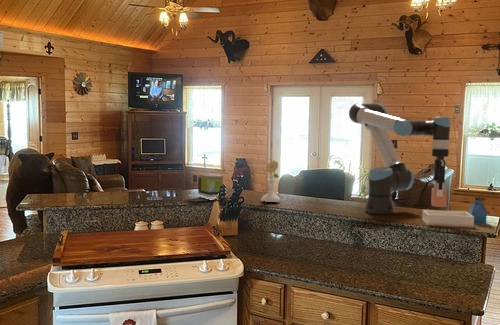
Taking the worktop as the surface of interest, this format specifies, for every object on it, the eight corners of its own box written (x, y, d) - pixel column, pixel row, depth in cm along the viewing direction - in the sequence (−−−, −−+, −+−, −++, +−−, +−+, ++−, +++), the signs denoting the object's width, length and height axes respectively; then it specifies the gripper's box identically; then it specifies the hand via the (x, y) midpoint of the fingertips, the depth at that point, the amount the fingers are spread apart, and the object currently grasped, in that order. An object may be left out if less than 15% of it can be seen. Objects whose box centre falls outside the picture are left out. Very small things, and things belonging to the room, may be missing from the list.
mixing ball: (434, 186, 234) (436, 179, 232) (442, 187, 234) (445, 180, 232) (435, 190, 231) (437, 184, 229) (443, 192, 231) (446, 185, 228)
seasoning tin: (431, 204, 237) (431, 187, 236) (443, 204, 236) (444, 188, 235) (433, 206, 231) (433, 189, 230) (446, 206, 230) (446, 189, 229)
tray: (422, 219, 230) (422, 209, 230) (466, 221, 226) (466, 211, 226) (427, 225, 217) (427, 214, 217) (473, 227, 214) (474, 216, 213)
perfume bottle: (486, 224, 222) (487, 198, 221) (471, 223, 223) (473, 198, 222) (482, 221, 228) (483, 196, 227) (468, 220, 229) (469, 196, 228)
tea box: (223, 199, 285) (223, 175, 284) (208, 201, 280) (208, 176, 279) (212, 196, 298) (212, 173, 297) (197, 197, 293) (197, 173, 292)
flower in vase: (257, 201, 279) (257, 159, 277) (273, 200, 285) (274, 159, 283) (268, 205, 268) (269, 161, 266) (285, 203, 273) (286, 160, 271)
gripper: (453, 149, 221) (450, 198, 223) (444, 147, 239) (442, 192, 241) (436, 149, 222) (433, 197, 224) (428, 147, 241) (426, 192, 243)
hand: (438, 195), depth 233 cm, fingers closed on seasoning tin, 6 cm apart
